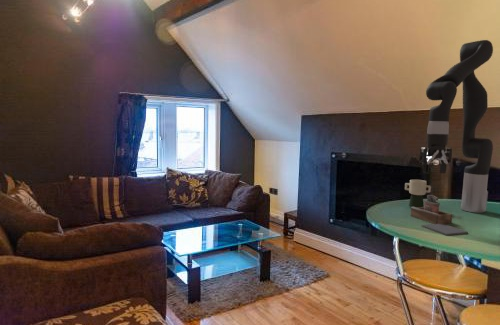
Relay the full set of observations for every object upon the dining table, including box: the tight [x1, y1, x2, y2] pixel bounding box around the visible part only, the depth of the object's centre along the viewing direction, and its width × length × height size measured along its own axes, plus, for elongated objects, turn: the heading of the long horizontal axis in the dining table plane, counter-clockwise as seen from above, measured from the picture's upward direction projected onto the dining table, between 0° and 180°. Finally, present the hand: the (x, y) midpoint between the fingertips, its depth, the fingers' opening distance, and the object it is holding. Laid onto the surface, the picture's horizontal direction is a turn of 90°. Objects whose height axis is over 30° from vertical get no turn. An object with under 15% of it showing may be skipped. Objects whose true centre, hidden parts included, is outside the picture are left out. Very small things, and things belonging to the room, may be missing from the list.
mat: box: [421, 223, 469, 236], centre depth 127 cm, size 10×11×1 cm
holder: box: [410, 207, 453, 225], centre depth 141 cm, size 8×13×4 cm, turn 18°
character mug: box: [404, 179, 432, 208], centre depth 161 cm, size 11×7×13 cm, turn 56°
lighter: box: [423, 194, 441, 214], centre depth 141 cm, size 8×3×10 cm, turn 5°
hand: (434, 173), depth 140 cm, fingers open, 8 cm apart
